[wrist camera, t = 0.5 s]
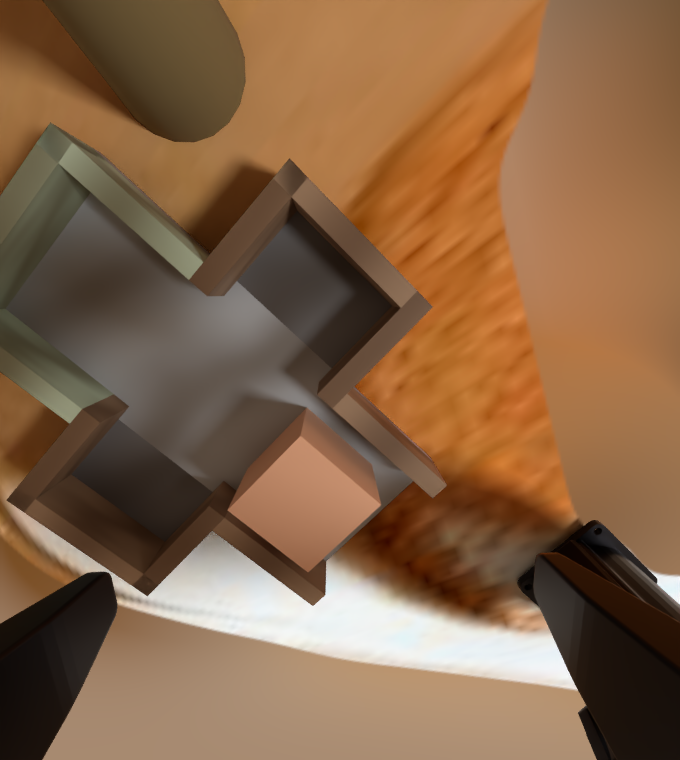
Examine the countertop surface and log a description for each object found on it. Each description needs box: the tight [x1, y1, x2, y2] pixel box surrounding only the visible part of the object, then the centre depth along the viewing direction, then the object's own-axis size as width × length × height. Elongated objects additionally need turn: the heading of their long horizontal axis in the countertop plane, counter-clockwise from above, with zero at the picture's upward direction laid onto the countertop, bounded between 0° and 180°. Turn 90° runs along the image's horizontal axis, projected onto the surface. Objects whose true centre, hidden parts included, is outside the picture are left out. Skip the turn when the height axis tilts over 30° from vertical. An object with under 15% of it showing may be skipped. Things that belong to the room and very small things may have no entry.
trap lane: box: [0, 122, 447, 606], centre depth 18 cm, size 23×21×3 cm
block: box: [228, 408, 381, 572], centre depth 18 cm, size 5×5×4 cm
